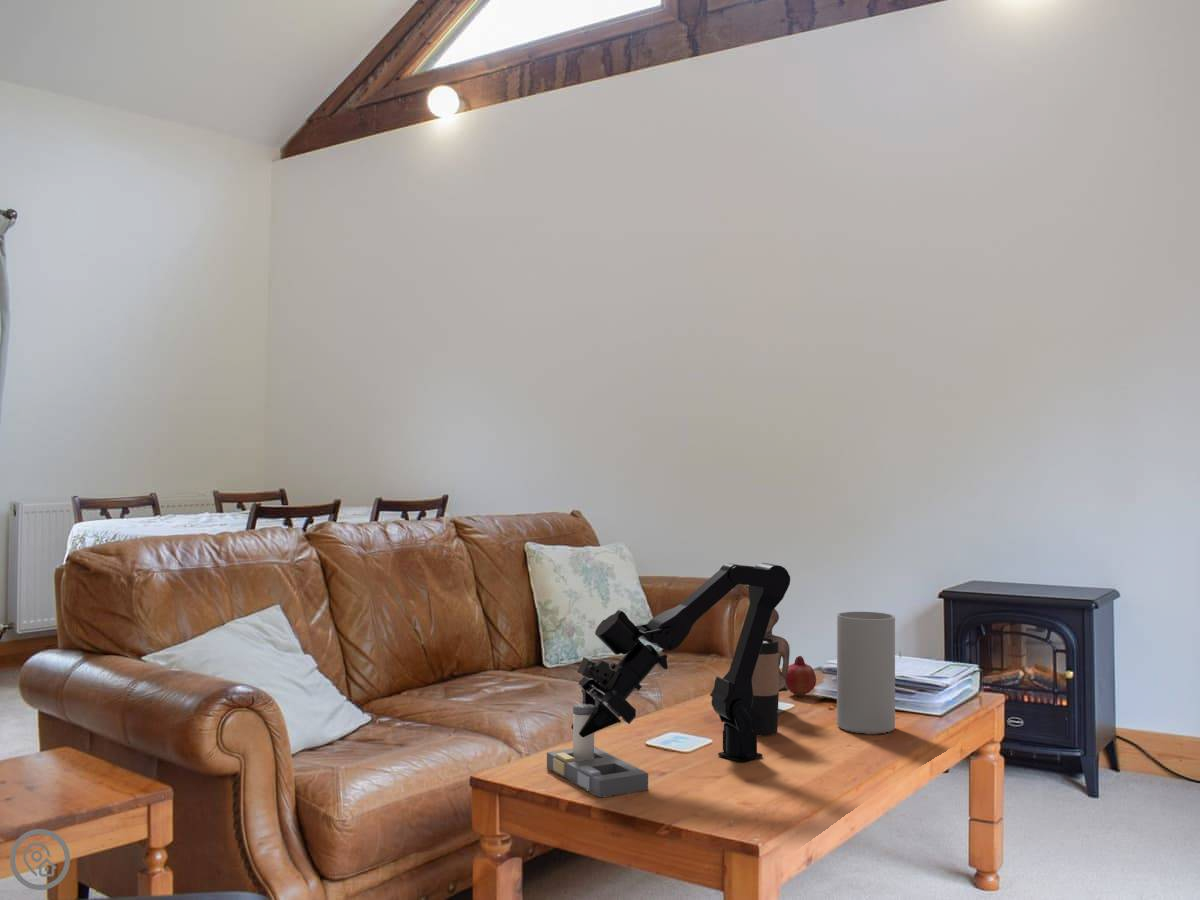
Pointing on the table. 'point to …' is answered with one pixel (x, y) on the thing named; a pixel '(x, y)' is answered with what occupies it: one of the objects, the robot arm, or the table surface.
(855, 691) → the cylinder vase
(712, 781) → the table surface
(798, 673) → the fruit
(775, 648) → the travel mug
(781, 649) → the clay figurine
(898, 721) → the table surface
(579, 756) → the white dome-top cylinder
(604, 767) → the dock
